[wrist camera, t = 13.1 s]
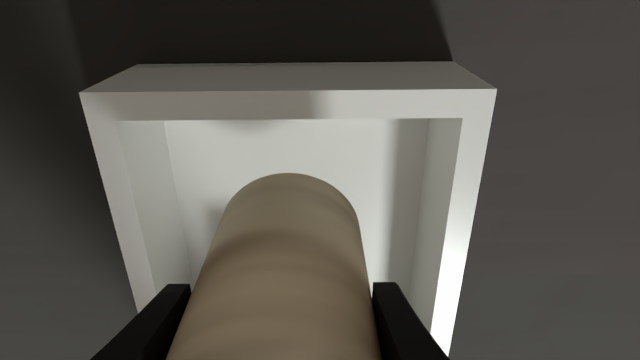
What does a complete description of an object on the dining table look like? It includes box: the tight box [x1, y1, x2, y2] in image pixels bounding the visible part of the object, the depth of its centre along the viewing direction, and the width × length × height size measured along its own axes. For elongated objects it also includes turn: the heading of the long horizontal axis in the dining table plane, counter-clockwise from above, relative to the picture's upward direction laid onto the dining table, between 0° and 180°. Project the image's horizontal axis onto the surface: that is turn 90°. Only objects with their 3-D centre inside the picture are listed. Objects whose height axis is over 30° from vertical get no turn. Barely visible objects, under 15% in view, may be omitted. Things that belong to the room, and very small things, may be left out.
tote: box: [79, 61, 497, 357], centre depth 20 cm, size 18×14×5 cm
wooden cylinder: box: [166, 173, 382, 360], centre depth 12 cm, size 5×5×7 cm
